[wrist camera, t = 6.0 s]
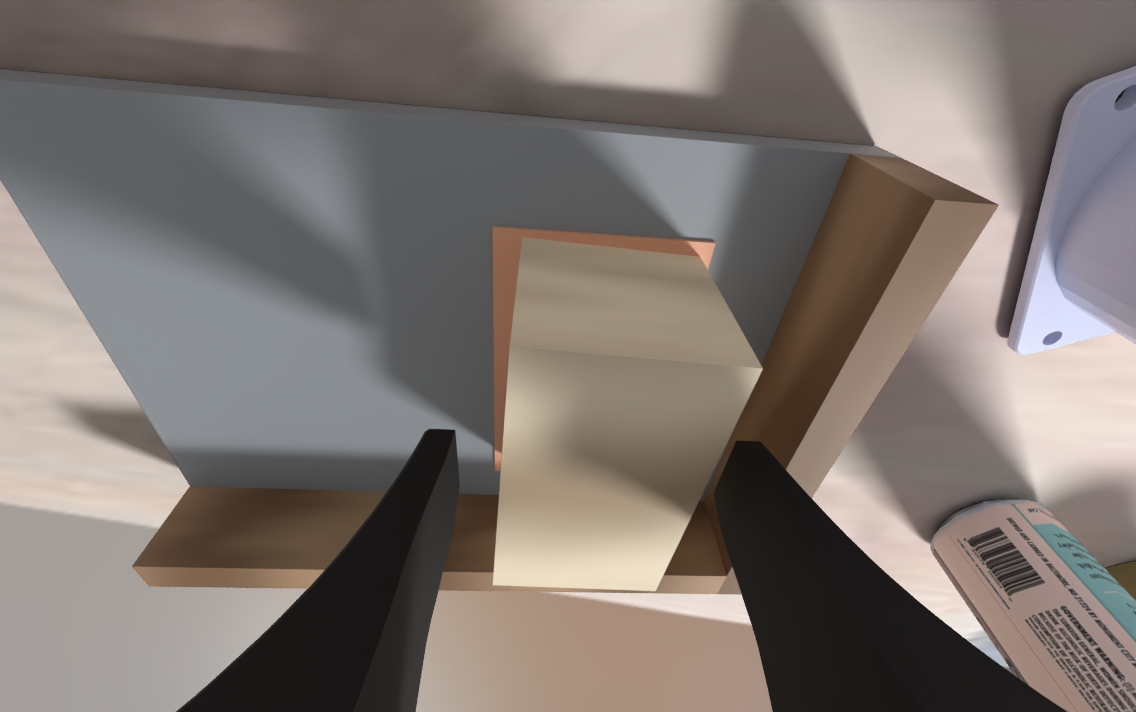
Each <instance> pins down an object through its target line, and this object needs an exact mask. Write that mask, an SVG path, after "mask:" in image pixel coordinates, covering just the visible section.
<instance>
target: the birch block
mask: <svg viewBox="0 0 1136 712" xmlns="http://www.w3.org/2000/svg"><path fill="white" fill-rule="evenodd" d="M762 370H763V368H762V366H761V364H760V362H759V361H758V359H757V357H756V355H755V353H754V352H753V350H752V348H751V346H750V344H749V343H748V341H747V339H746V337H745V336H744V334H743V332H742V330H741V328H740V327H739V325H738V323H737V321H736V320H735V318H734V316H733V314H732V312H731V311H730V309H729V307H728V305H727V303H726V302H725V300H724V298H723V296H722V295H721V293H720V291H719V289H718V287H717V286H716V284H715V282H714V280H713V279H712V277H711V275H710V273H709V271H708V270H707V268H706V266H705V264H704V262H703V261H702V259H701V257H698V256H689V255H680V254H670V253H661V252H652V251H643V250H634V249H625V248H616V247H607V246H598V245H589V244H580V243H571V242H562V241H553V240H544V239H535V238H526V237H522V243H521V252H520V260H519V269H518V278H517V287H516V296H515V304H514V313H513V322H512V331H511V339H510V349H509V363H508V377H507V391H506V405H505V419H504V434H503V448H502V462H501V476H500V490H499V504H498V518H497V532H496V546H495V560H494V574H493V585H500V586H527V587H554V588H581V589H609V590H636V591H656V589H657V587H658V585H659V583H660V581H661V579H662V577H663V575H664V573H665V571H666V569H667V567H668V564H669V562H670V560H671V558H672V556H673V554H674V552H675V550H676V548H677V546H678V544H679V542H680V540H681V538H682V535H683V533H684V531H685V529H686V527H687V525H688V523H689V521H690V519H691V517H692V515H693V513H694V511H695V509H696V506H697V504H698V502H699V500H700V498H701V496H702V494H703V492H704V490H705V488H706V486H707V484H708V482H709V480H710V477H711V475H712V473H713V471H714V469H715V467H716V465H717V463H718V461H719V459H720V457H721V455H722V453H723V451H724V448H725V446H726V444H727V442H728V440H729V438H730V436H731V434H732V432H733V430H734V428H735V426H736V424H737V421H738V419H739V417H740V415H741V413H742V411H743V409H744V407H745V405H746V403H747V401H748V399H749V397H750V395H751V392H752V390H753V388H754V386H755V384H756V382H757V380H758V378H759V376H760V374H761V372H762Z"/></svg>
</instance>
